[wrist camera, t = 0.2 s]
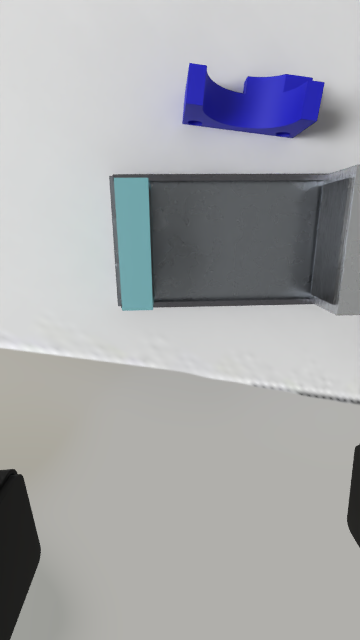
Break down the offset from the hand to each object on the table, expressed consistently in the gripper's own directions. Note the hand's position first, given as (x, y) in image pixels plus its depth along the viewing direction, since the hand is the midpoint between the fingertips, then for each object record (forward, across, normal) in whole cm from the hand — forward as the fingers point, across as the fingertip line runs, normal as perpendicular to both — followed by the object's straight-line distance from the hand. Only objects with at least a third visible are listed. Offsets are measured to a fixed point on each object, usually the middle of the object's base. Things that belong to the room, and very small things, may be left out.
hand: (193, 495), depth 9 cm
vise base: (+31, -8, -5) cm, 32 cm away
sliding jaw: (+29, +3, -6) cm, 30 cm away
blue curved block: (+31, -9, -19) cm, 37 cm away
